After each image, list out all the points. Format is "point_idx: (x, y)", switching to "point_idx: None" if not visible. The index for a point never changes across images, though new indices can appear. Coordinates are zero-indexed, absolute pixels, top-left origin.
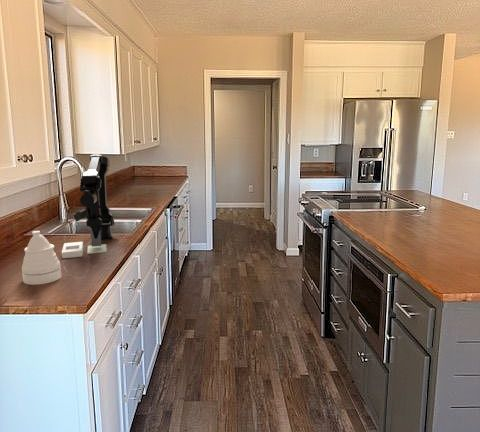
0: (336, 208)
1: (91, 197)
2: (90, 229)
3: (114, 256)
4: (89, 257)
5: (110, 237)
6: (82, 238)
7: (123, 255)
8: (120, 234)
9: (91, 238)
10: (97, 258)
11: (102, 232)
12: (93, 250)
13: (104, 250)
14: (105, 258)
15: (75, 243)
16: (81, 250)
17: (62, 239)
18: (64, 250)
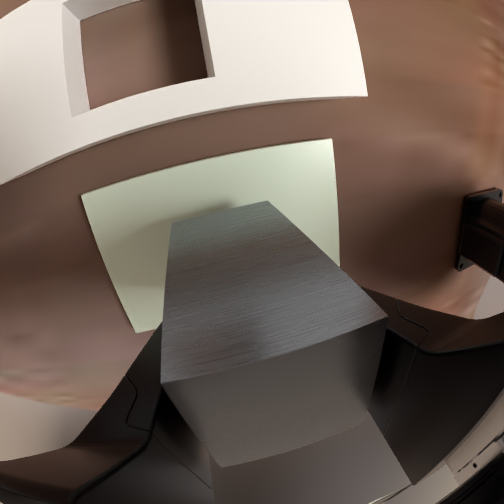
0: (381, 498)
1: None
2: (162, 378)
3: (55, 376)
4: (8, 241)
5: (458, 263)
6: (495, 103)
7: (81, 406)
8: (482, 284)
9: (169, 268)
10: (2, 299)
11: (490, 239)
12: (150, 230)
13: (145, 318)
14: (14, 341)
15: (307, 28)
16: (4, 180)
17: (485, 13)
18: (38, 10)
